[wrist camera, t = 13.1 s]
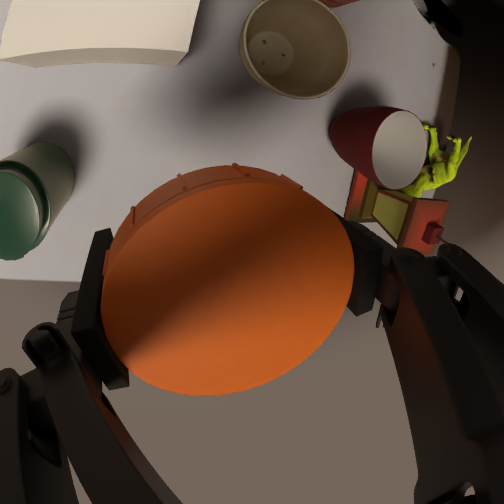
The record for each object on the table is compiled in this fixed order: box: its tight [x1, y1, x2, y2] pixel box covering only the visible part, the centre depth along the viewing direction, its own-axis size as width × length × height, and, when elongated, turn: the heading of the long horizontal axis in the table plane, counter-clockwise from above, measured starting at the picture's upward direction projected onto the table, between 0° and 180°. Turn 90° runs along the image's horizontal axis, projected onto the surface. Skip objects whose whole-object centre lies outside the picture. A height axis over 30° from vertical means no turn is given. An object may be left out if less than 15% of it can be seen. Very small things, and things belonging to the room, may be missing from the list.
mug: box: [330, 106, 427, 190], centre depth 29 cm, size 11×8×10 cm
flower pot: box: [239, 0, 350, 99], centre depth 23 cm, size 10×10×7 cm
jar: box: [0, 142, 75, 261], centre depth 20 cm, size 8×8×11 cm
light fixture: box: [344, 170, 504, 285], centre depth 26 cm, size 8×8×30 cm
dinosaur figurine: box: [397, 123, 472, 198], centre depth 36 cm, size 20×10×6 cm, turn 135°
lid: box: [101, 163, 354, 396], centre depth 10 cm, size 8×8×2 cm
